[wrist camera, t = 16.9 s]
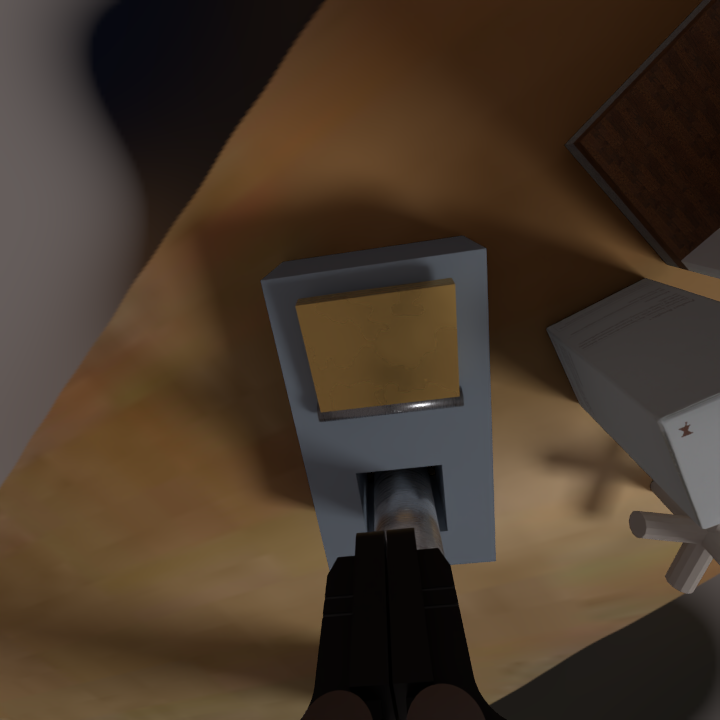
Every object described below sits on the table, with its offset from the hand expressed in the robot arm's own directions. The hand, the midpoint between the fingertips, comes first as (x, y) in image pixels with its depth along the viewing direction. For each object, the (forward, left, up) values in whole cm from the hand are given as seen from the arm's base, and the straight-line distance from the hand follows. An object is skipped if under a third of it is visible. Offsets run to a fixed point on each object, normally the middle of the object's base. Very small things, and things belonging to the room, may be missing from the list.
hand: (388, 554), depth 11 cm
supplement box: (-4, -16, -20) cm, 26 cm away
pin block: (-6, 0, -20) cm, 21 cm away
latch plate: (0, 0, -14) cm, 14 cm away
